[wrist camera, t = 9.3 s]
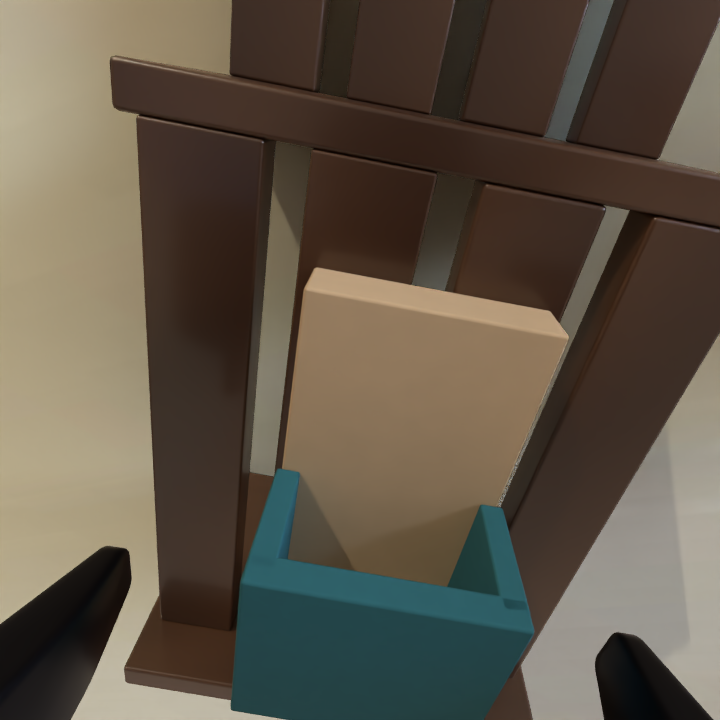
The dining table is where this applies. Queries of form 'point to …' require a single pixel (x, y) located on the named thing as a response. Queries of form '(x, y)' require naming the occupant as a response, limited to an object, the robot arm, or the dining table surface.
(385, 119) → the shoe rack
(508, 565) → the wall mail holder
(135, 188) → the dining table surface
